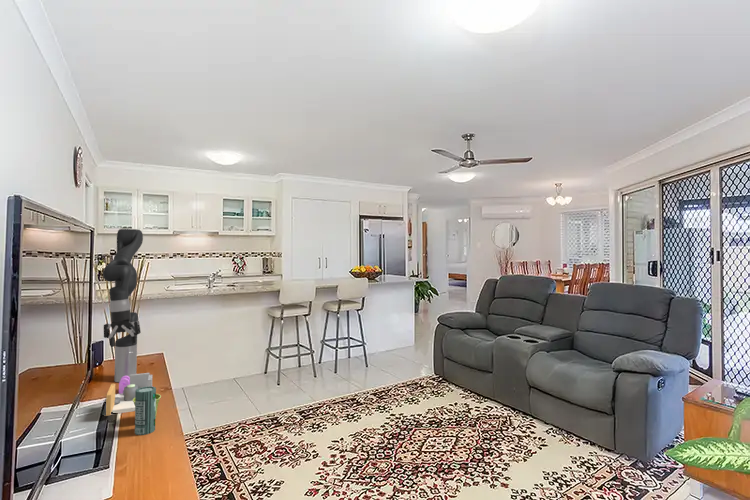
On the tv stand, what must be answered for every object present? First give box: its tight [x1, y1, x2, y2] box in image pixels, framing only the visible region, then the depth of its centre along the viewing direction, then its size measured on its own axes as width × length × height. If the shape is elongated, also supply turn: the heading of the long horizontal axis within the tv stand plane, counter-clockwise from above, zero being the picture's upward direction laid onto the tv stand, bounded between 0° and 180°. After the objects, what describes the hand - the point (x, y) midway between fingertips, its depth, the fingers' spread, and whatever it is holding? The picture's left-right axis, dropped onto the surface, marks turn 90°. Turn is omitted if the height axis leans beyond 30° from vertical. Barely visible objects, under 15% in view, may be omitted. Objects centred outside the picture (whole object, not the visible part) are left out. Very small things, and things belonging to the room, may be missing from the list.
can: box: [134, 385, 157, 436], centre depth 144 cm, size 6×6×15 cm
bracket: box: [118, 376, 154, 394], centre depth 184 cm, size 13×6×7 cm, turn 116°
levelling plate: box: [112, 372, 153, 414], centre depth 170 cm, size 21×18×10 cm
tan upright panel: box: [105, 383, 120, 417], centre depth 160 cm, size 16×5×8 cm, turn 27°
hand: (123, 345), depth 181 cm, fingers open, 8 cm apart
